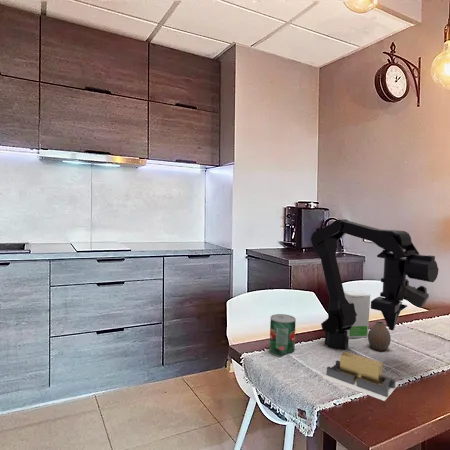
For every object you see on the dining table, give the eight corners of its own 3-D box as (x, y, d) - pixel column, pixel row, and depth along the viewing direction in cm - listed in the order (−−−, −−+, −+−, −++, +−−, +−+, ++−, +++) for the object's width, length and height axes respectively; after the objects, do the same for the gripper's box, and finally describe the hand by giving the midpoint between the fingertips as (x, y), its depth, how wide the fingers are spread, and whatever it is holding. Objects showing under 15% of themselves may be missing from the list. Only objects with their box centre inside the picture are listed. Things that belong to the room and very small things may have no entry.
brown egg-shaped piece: (388, 346, 121) (390, 320, 121) (391, 353, 115) (392, 327, 114) (366, 342, 123) (368, 317, 123) (367, 350, 117) (369, 324, 116)
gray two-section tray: (326, 375, 97) (326, 367, 97) (336, 367, 102) (337, 360, 102) (386, 396, 86) (387, 388, 86) (395, 387, 91) (395, 379, 91)
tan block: (339, 376, 96) (340, 354, 96) (344, 372, 98) (345, 351, 98) (377, 390, 90) (379, 366, 89) (381, 385, 92) (383, 362, 91)
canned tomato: (299, 356, 111) (300, 321, 110) (275, 358, 109) (277, 322, 108) (287, 346, 119) (288, 313, 118) (265, 348, 116) (266, 314, 116)
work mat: (321, 381, 95) (321, 377, 95) (339, 367, 104) (339, 364, 103) (384, 405, 85) (384, 400, 85) (398, 388, 93) (398, 384, 93)
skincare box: (347, 338, 127) (349, 295, 126) (338, 332, 133) (340, 290, 132) (369, 337, 128) (371, 294, 127) (358, 331, 135) (360, 290, 134)
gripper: (417, 285, 89) (413, 347, 89) (434, 275, 102) (431, 329, 103) (371, 278, 96) (368, 335, 97) (393, 269, 110) (390, 319, 111)
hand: (391, 329), depth 102 cm, fingers closed
